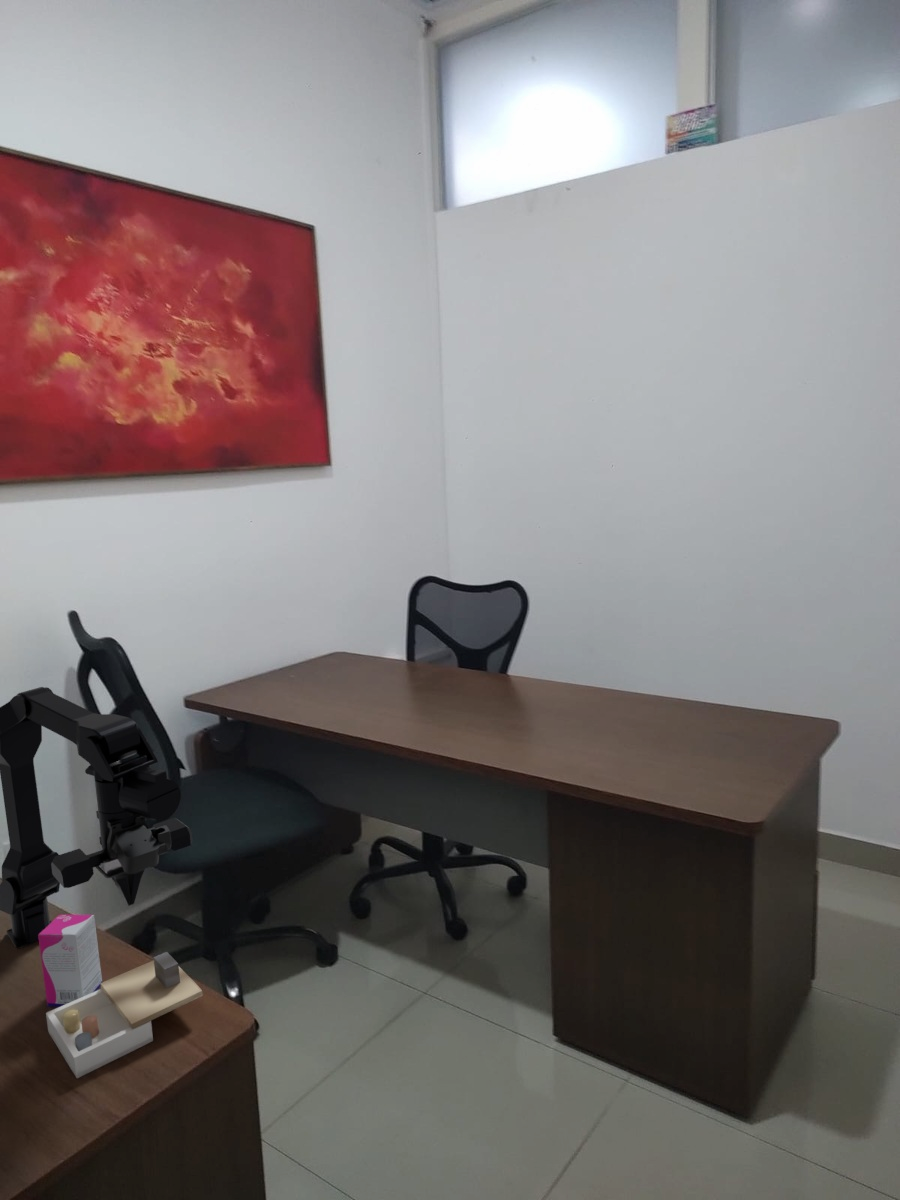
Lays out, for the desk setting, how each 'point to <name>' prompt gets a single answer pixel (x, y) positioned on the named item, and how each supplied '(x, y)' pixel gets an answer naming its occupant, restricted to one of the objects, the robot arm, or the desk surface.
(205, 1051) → the desk surface
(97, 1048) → the white storage tray
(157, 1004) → the lid
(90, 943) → the supplement box
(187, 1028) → the desk surface
